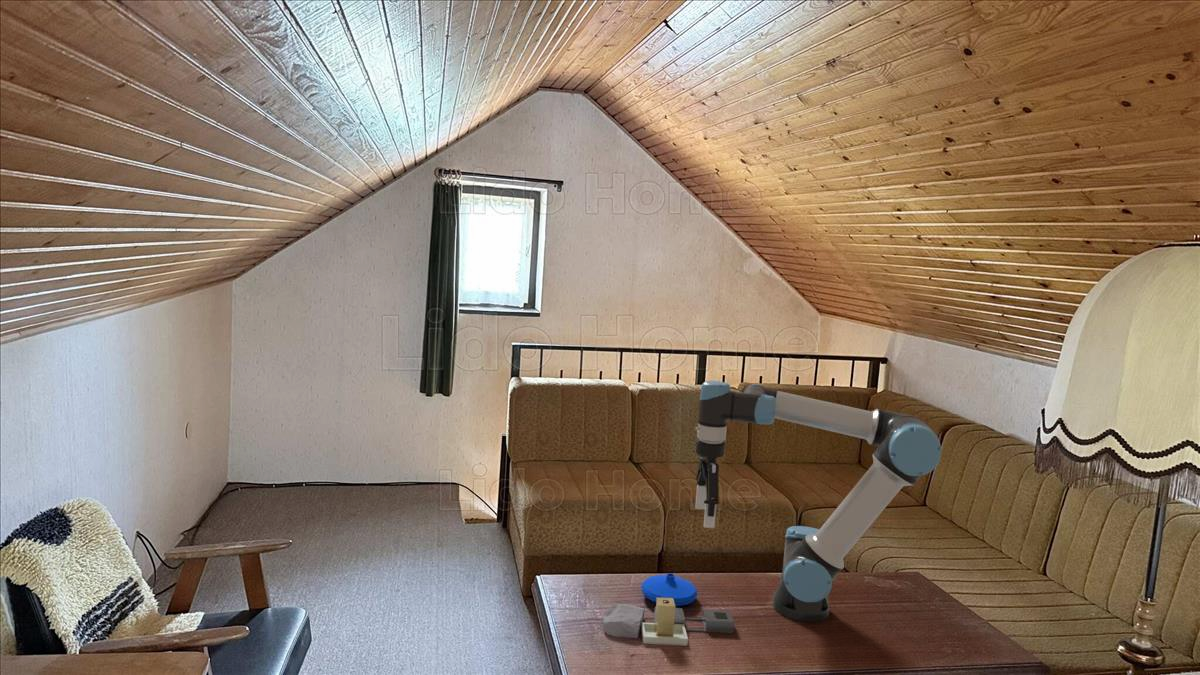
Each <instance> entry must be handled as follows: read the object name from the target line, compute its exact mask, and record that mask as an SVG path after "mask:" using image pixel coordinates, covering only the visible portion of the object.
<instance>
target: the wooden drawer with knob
mask: <svg viewBox="0 0 1200 675" xmlns="http://www.w3.org/2000/svg"><path fill="white" fill-rule="evenodd" d="M655 604H656V605H655V607H656V614H655V621H654V623H655V627H654V633H655V636H665V637H673V630H674V617H675V608H676V606H675V603H674V599H673V598H658V597H657V601H656V602H655Z"/></svg>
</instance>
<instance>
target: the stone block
mask: <svg viewBox="0 0 1200 675" xmlns="http://www.w3.org/2000/svg"><path fill="white" fill-rule="evenodd" d="M606 611H607V612H606V613H605V614H604V617H603V619H602V620H603V622H602V623H603V624H602V625H603V626H602V627H603V629H604V630H603V631H604V632H605V634H606V635H609V636H612V637H618V638H627V639H634V638H635V640H636V639H638V638H639V636H640V633H641V622H644V618H645V617H644V616H645V608H644V607H639V606H636V605H632V604H627V603H626V604H625V603H621V604H615V605H611V606H609V608H608V610H606Z"/></svg>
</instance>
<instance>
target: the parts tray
mask: <svg viewBox="0 0 1200 675" xmlns="http://www.w3.org/2000/svg"><path fill="white" fill-rule="evenodd" d="M654 627H655V622H644V621H643V622H641V629H640V634H641V638H642V644H644V645H667V646H669V645H670V646H684V647H686V646H687V647H688V642H689V638H688V633H687V631H686V630H685V629H686V625H685V626H684V624H674V630H673V637H665V636H655V633H654Z"/></svg>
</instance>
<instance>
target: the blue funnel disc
mask: <svg viewBox="0 0 1200 675" xmlns="http://www.w3.org/2000/svg"><path fill="white" fill-rule="evenodd" d="M640 587H641V591H642V594H643V595H644V596H645V597H646V598H647V599H648V600H650V601H653V602H654V603H656V601H657V597H658V598H673V599H674V603H675V607H679V606H685V605H689V604H691V603H693V602H694V601H695V600H696V599H697V597H698V590H697V588H696V587H695V585H694V584H693V583H692V582H691V581H689V580H687V579H684V578H682V577H680V576H675V574H674V573H670V572H669V573H666V574H665V575H664V574H659V575H658V574H657V575H653V576H649V577H648V578H645V580H644V581H643V582H642V583H641V586H640Z"/></svg>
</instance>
